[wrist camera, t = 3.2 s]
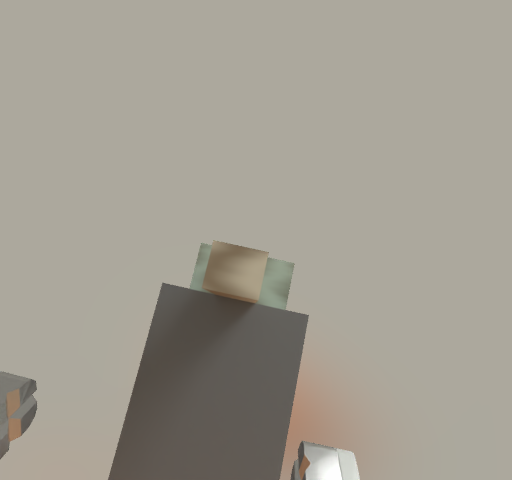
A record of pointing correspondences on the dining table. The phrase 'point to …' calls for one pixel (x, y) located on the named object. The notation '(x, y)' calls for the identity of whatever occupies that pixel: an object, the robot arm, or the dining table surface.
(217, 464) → the stand
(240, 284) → the mallet
